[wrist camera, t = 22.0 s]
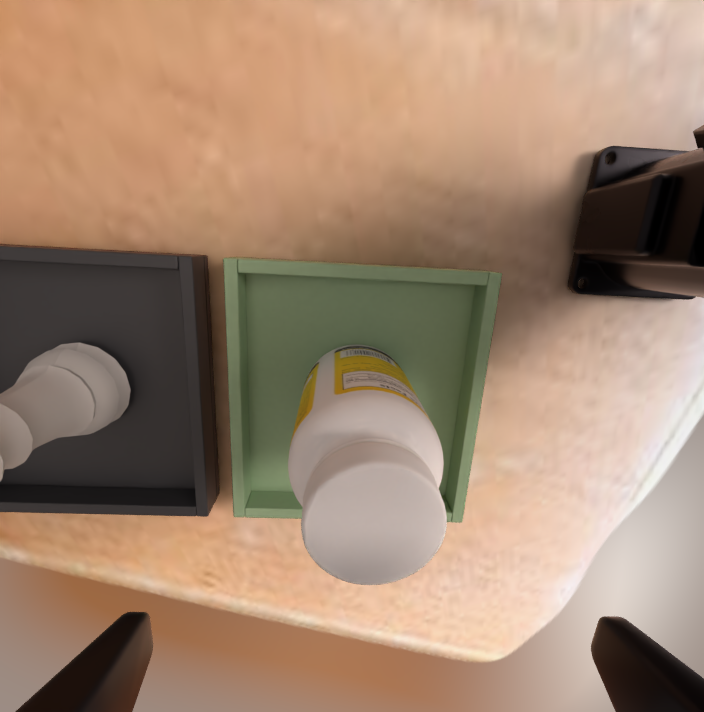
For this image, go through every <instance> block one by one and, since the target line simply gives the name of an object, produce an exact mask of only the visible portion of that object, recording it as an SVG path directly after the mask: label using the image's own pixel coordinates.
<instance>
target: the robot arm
mask: <svg viewBox="0 0 704 712" xmlns="http://www.w3.org/2000/svg"><path fill="white" fill-rule="evenodd" d="M693 133H694V136H695V140H696V143H697V147H698V148H700V149H697V150H693V151H677V150H663V149H649V148H635V147H621V146H610V147H607V148H604V149H602V150H600V151H599V152H598V153H597V154H596V156H595V159H594V162H593V167H592V172H591V176H590V181H589V186H588V191H587V193H586V194H585V195H584V199H583V204H582V209H581V214H580V219H579V223H578V228H577V233H576V238H575V242H574V251H575V252H574V257H573V262H572V267H571V272H570V276H569V281H568V287H569V290H570V291H572V292H574V293H578V294H592V295H611V296H630V297H649V298H669V299H693V298H695V297H696V296H697V297H704V125H703V126H701V127H699V128H698V129H696V130H695V131H694V132H693ZM606 155H609V157H610V162H609V164H607V163H606V162H605V157H606ZM581 279H582V280H583V284H582V286H581V287H580V288H579V287H578V282H579V280H581ZM152 639H153V638H152V631H151V623H150V616H149V614H148V613H146V612H127V613H126V614H123V615H122V616H121V617H120V618H118V619H117V620H116V621H115V622H114V623H113V624H112V625H111V626H110V627H109V628H107V629H106V630H105V631H104V632H103V633H102V634H101V635H100V636H99V637H97V638H96V639H95V640H94V641H93V642H92V643H91V644H90V645H89V646H88V647H86V648H85V649H84V650H83V651H82V652H81V653H80V654H79V655H78V656H76V657H75V658H74V659H73V660H72V661H71V662H70V663H69V664H68V665H66V666H65V667H64V668H63V669H62V670H61V671H60V672H59V673H58V674H56V675H55V676H54V677H53V678H52V679H51V680H50V681H49V682H48V683H47V684H46V685H44V686H43V687H42V688H41V689H40V690H39V691H38V692H37V693H35V694H34V695H33V696H32V697H31V698H30V699H29V700H28V701H27V702H25V703H24V704H23V705H22V706H21V707H20V708H19V709H18V710H17V711H16V712H132V711H133V708H134V705H135V702H136V699H137V696H138V693H139V690H140V687H141V684H142V682H143V679H144V676H145V673H146V670H147V667H148V664H149V661H150V658H151V654H152V650H153V640H152ZM591 652H592V656H593V660H594V662H595V665H596V667H597V669H598V672H599V674H600V676H601V679H602V681H603V683H604V686H605V688H606V690H607V692H608V695H609V697H610V700H611V702H612V704H613V706H614V709H615V711H616V712H704V679H703V678H702V677H701V676H700V675H698V674H697V673H696V672H694V671H693V670H692V669H690V668H689V667H688V666H686V665H685V664H684V663H682V662H681V661H680V660H678V659H677V658H676V657H675V656H673V655H672V654H671V653H669V652H668V651H667V650H665V649H664V648H663V647H661V646H660V645H659V644H658V643H656V642H655V641H654V640H652V639H651V638H650V637H648V636H647V635H646V634H644V633H643V632H642V631H641V630H639V629H638V628H637V627H635V626H634V625H633V624H631V623H629V621H627V620H626V619H624V618H621V617H602V618H600V619H599V621H598V624H597V628H596V631H595V634H594V637H593V641H592V644H591Z"/></svg>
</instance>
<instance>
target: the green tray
mask: <svg viewBox="0 0 704 712" xmlns="http://www.w3.org/2000/svg"><path fill="white" fill-rule="evenodd" d="M223 264H224V288H225V313H226V338H227V363H228V388H229V413H230V438H231V463H232V488H233V512H234V517H251V518H295V519H302V510H303V507H302V506H301V504H300V503H299V501H298V500H297V498H296V496H295V494H294V492H293V489H292V487H291V483H290V479H289V472H288V458H289V450H290V444H291V440H292V435H293V431H294V427H295V422H296V418H297V414H298V410H299V405H300V401H301V396H302V392H303V387H304V384H305V381H306V378H307V376H308V374H309V372H310V370H311V368H312V367H313V366H314V364H315V363H316V362H317V361H318V360H319V359H320V358H321V357H322V356H324V355H325V354H326V353H328V352H330V351H332V350H334V349H336V348H339V347H342V346H346V345H366V346H371V347H374V348H377V349H379V350H381V351H383V352H385V353H386V354H388V355H389V356H390V357H392V358H393V359H394V360H395V361H396V362H397V364H398V365H399V366H400V368H401V369H402V370H403V372H404V374H405V375H406V377H407V379H408V381H409V382H410V384H411V386H412V388H413V390H414V391H415V393H416V395H417V397H418V399H419V401H420V402H421V404H422V406H423V408H424V410H425V412H426V413H427V415H428V417H429V419H430V421H431V422H432V424H433V426H434V428H435V430H436V432H437V435H438V437H439V440H440V443H441V447H442V451H443V461H444V466H443V475H442V480H441V483H440V486H439V491H440V494H441V496H442V499H443V502H444V505H445V509H446V515H447V522H462V519H463V513H464V507H465V501H466V495H467V488H468V482H469V476H470V470H471V464H472V457H473V451H474V445H475V439H476V433H477V426H478V420H479V414H480V408H481V402H482V395H483V389H484V383H485V377H486V371H487V364H488V358H489V352H490V346H491V340H492V333H493V327H494V321H495V315H496V309H497V302H498V296H499V290H500V284H501V277H502V273H499V272H492V271H485V270H467V269H449V268H430V267H412V266H394V265H375V264H357V263H338V262H320V261H301V260H283V259H265V258H246V257H230V258H224V259H223Z"/></svg>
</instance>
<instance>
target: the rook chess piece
mask: <svg viewBox="0 0 704 712" xmlns="http://www.w3.org/2000/svg"><path fill="white" fill-rule="evenodd" d="M130 391H131V389H130V386H129V382H128V379H127V375H126V373H125V371H124V370H123V369H122V367H121V366H120V365H119V363H118V362H117V361H116V359H115V358H113V357H112V356H110V355H109V354H107V353H106V352H104V351H103V350H101V349H100V348H98V347H94V346H91V345H87V344H83V343H70V344H61V345H59V346H57V347H56V348H54V349H52V350H49V351H46V352H45V353H43V354H41V355H39V356H38V357H36V358H34V359H33V360H32V361H30V362H29V363H28V365H27V366H26V368H25V369H24V371H23V373H22V374H21V375H20V377H19V378H18V380H17V381H16V383H15V385H14V386H12V387H11V388H9V389H8V390H6V391H4V392H3V393H1V394H0V481H1V480H2V478H3V473H4V469H13V468H15V467H17V466H19V465H21V464H22V463H24V462H25V461H26V460H27V458H28V457H29V455H30V454H31V452H32V450H34V449H35V448H37V447H39V446H41V445H43V444H45V443H47V442H49V441H52V440H54V439H56V438H60V437H70V436H79V435H88V434H91V433H94V432H96V431H98V430H100V429H102V428H103V427H105V426H107V425H108V424H109V423H111V422H113V421H115V420H117V419H119V418H120V417H121V415H122V414H123V412H124V411H125V410H126V408H127V407H128V405H129V398H130Z"/></svg>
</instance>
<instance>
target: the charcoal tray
mask: <svg viewBox="0 0 704 712" xmlns="http://www.w3.org/2000/svg"><path fill="white" fill-rule="evenodd" d="M70 343H83V344H87V345H91V346H94V347H98V348H100V349H101V350H103V351H104V352H106V353H107V354H109V355H110V356H112V357H113V358H115V359H116V361H117V362H118V363H119V365H120V366H121V367H122V369H123V370H124V371H125V373H126V375H127V379H128V382H129V386H130V389H131V391H130V398H129V405H128V407H127V408H126V410H125V411H124V412H123V414H122V415H121V417H120V418H119V419H117V420H115V421H113V422H111V423H109V424H108V425H107V426H105V427H103V428H102V429H100V430H98V431H96V432H94V433H91V434H88V435H79V436H70V437H60V438H56V439H54V440H52V441H49V442H47V443H45V444H43V445H41V446H39V447H37V448H35V449H34V450H32V452H31V454H30V455H29V457H28V458H27V460H26V461H25V462H24V463H22V464H21V465H19V466H17V467H15V468H13V469H4V473H3V478H2V480H1V481H0V512H32V513H76V514H120V515H164V516H208V515H209V513H210V511H211V509H212V507H213V505H214V503H215V501H216V499H217V497H218V495H219V493H220V492H219V472H218V453H217V433H216V414H215V394H214V375H213V356H212V336H211V317H210V297H209V278H208V258H207V256H206V255H191V254H172V253H154V252H135V251H117V250H99V249H80V248H62V247H43V246H25V245H6V244H0V394H1V393H3V392H4V391H6V390H8V389H9V388H11V387H12V386H14V385H15V383H16V381H17V380H18V378H19V377H20V375H21V374H22V373H23V371H24V369H25V368H26V366H27V365H28V363H29V362H30V361H32V360H33V359H34V358H36V357H38V356H39V355H41V354H43V353H45V352H46V351H49V350H52V349H54V348H56V347H57V346H59V345H61V344H70Z"/></svg>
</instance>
